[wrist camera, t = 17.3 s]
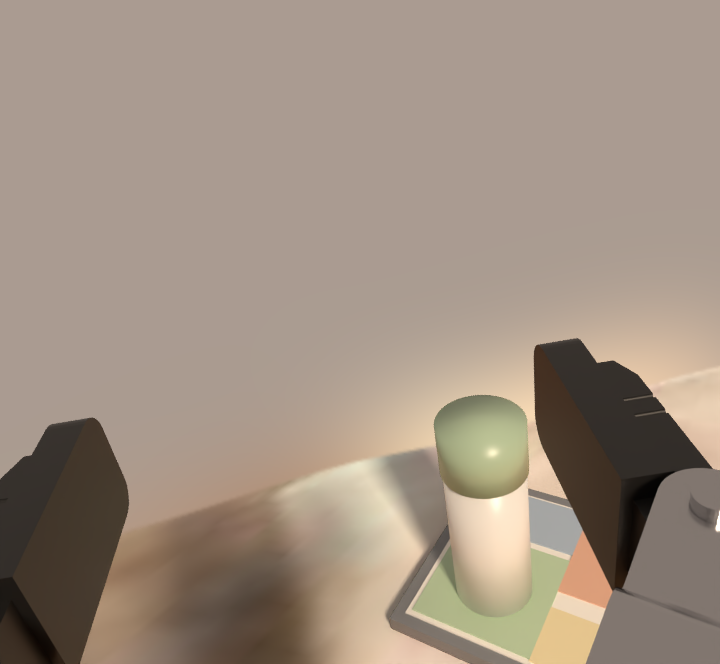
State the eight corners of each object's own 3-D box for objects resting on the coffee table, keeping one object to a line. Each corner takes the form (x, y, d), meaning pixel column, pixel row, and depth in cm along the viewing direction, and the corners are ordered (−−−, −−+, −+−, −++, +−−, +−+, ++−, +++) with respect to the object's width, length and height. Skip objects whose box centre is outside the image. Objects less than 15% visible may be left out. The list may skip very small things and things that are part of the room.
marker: (441, 601, 38) (418, 439, 33) (472, 545, 42) (456, 388, 36) (518, 630, 36) (507, 461, 30) (544, 568, 39) (539, 404, 34)
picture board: (391, 628, 39) (388, 616, 38) (479, 483, 48) (478, 472, 47) (692, 763, 30) (694, 750, 30) (730, 557, 39) (732, 544, 39)
